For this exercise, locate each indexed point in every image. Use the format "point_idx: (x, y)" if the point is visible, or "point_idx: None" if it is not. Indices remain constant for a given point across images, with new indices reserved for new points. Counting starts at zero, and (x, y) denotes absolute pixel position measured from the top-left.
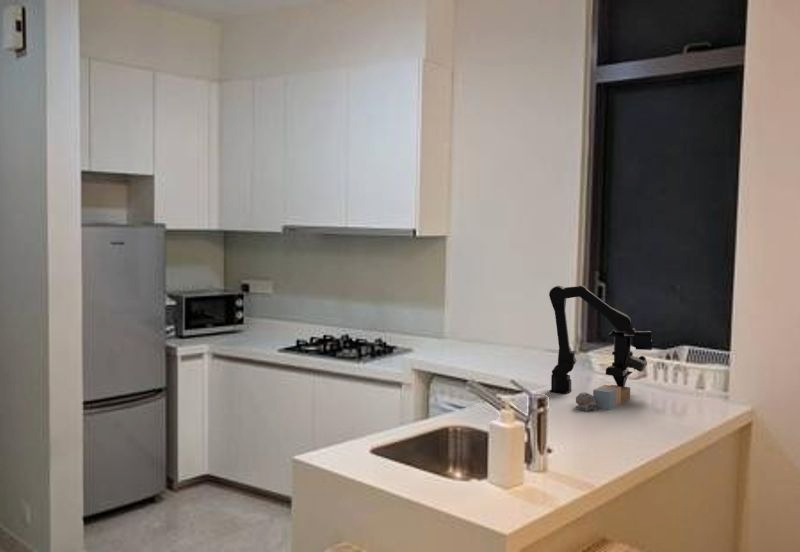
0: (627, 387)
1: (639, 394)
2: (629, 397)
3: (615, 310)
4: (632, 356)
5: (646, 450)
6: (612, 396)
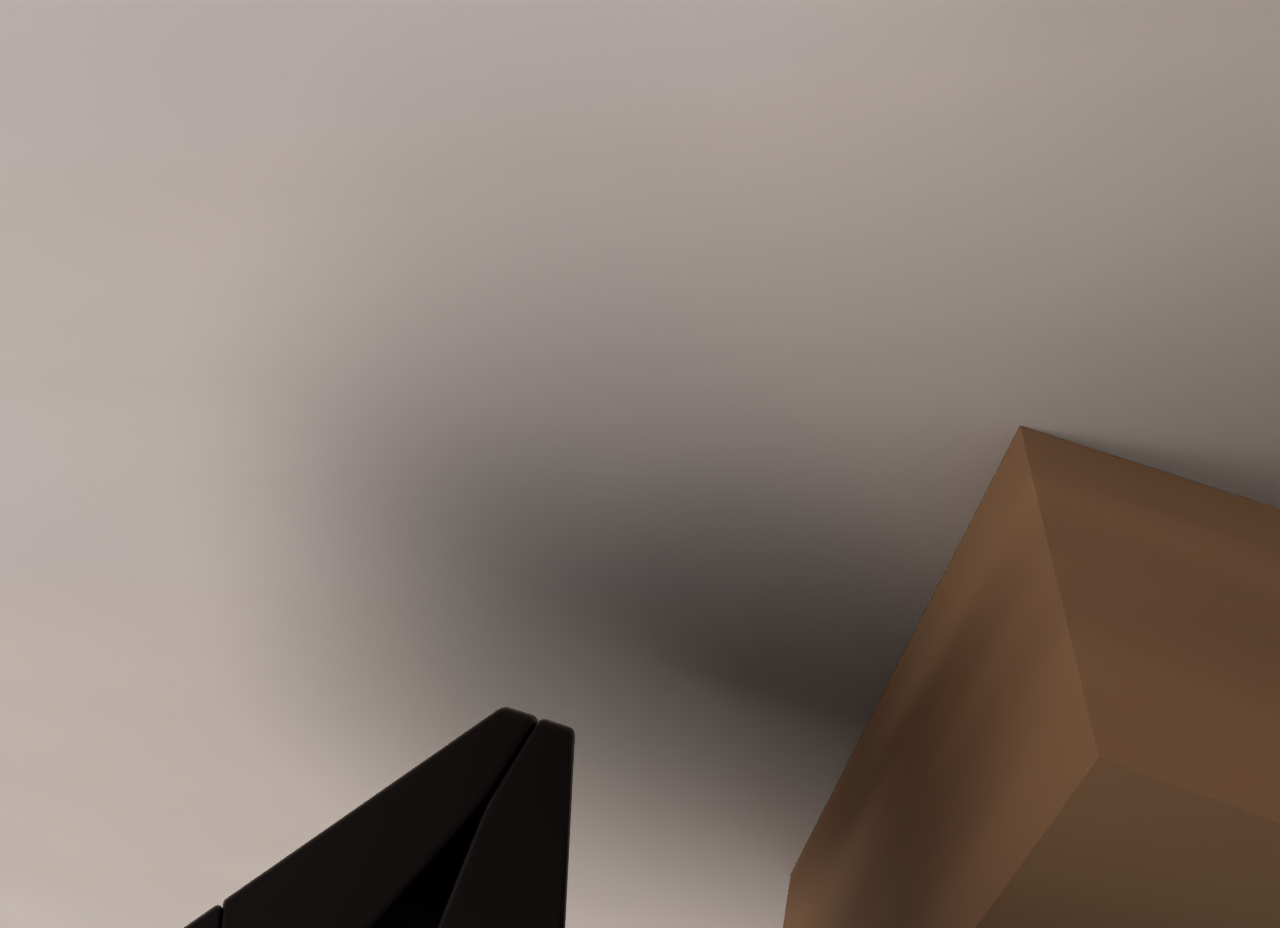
0: (1168, 892)
1: (147, 158)
2: (1091, 479)
3: None
4: None
5: None
6: None
